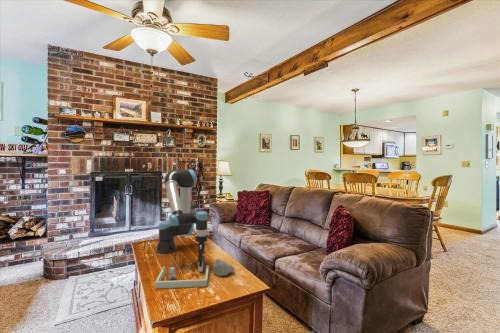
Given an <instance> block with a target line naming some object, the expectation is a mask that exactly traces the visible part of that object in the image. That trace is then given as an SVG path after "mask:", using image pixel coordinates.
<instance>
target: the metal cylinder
mask: <svg viewBox="0 0 500 333" xmlns="http://www.w3.org/2000/svg"><path fill="white" fill-rule="evenodd" d="M176 274H177V267H176V265H170V266H169V267H168V281H176V279H177V278H176V276H177V275H176Z"/></svg>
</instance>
